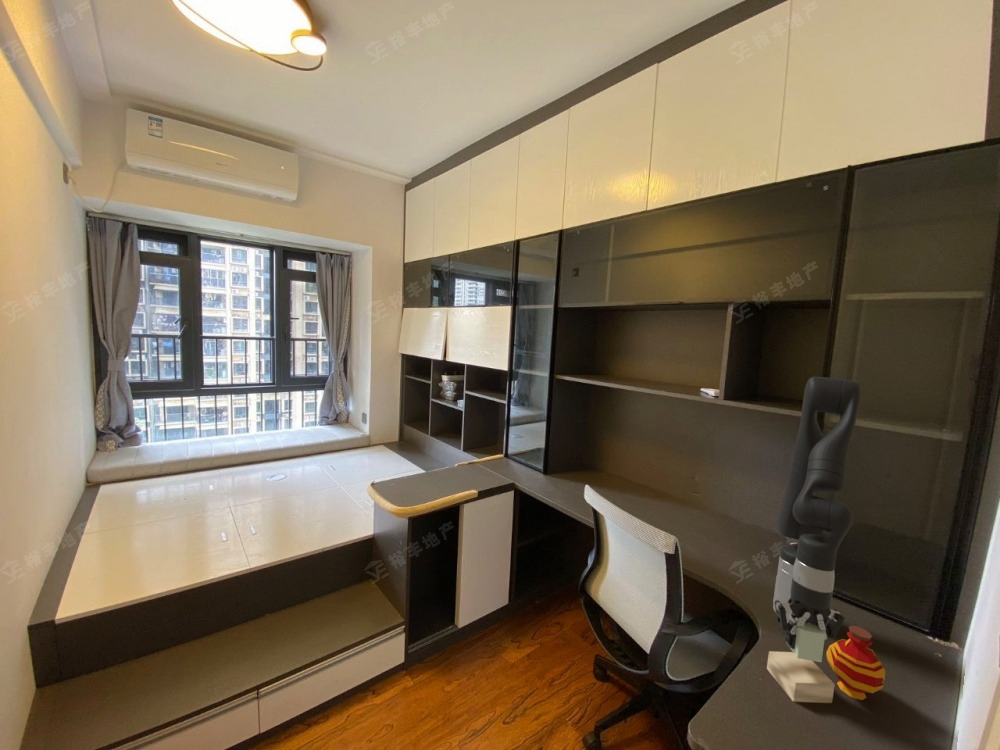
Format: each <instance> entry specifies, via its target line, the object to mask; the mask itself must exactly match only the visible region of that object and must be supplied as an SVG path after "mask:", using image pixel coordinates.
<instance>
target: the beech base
mask: <svg viewBox="0 0 1000 750" xmlns="http://www.w3.org/2000/svg"><path fill="white" fill-rule="evenodd" d="M766 664H767V665H766V669H767V670H768V672H769V673H770V675H771V676H772V677H773V678H774V679H775V681H776V682H777V683H778V684H779V686H780V687H781V688H782V689H783V691H784V692H785V693H786V695H788V697H789V698H790V700H791V701H792V702H796V703H818V704H819V703H820V704H821V703H823V704H832V703H833V699H834V691H835V685H836V684H835V683H834V681H832V680H831V679H830V678H829V677H828V675H826V674H825V673H824V672H823V670H822V669H821V668H820V667H819V666H818V665H817V664H816V663H815V661H811V660H805V659H799V658H797V657H796V656H795V654H794V653H793V651H773V650H771V651H768V656H767V663H766Z"/></svg>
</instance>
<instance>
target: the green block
mask: <svg viewBox="0 0 1000 750" xmlns="http://www.w3.org/2000/svg"><path fill="white" fill-rule="evenodd" d="M796 619H797V618H796ZM797 620H798V619H797ZM824 641H825V642H826V640H825V633H824V632H823V631H820V630H819V629H818V628H817V626H816V625H813V624H810V623H807V624H805V623H804V625H803V626H802V628H800V627H798V629H797V632H796V642H795V649H792V648H790V650H791V652H793V653H794V654H795V656H796V657H797V658H799V659H805V660H811V661H813V662H817V663H822V662H823V655H824V653H823V652H824V650H823V648H824V649H825V645H824ZM785 642H786V641H785ZM786 644H787V642H786ZM787 646H788V647H789V645H788V644H787Z"/></svg>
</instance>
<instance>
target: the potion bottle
mask: <svg viewBox="0 0 1000 750" xmlns="http://www.w3.org/2000/svg"><path fill="white" fill-rule="evenodd" d="M848 630H849V631H847V632H846V634H847V635H846V636H847V637H848V639H844V638H842V639H839V640H837V641H835V642H834V643H832V644H830V645H829V646H828V648H827V650H826V659H827V662H828V664H829V667H830V669H831V670H833V672H834V673H835V675H836V677H837V678H838V680H839V681H838V682H837V683H836V684H837V686H838V687H839V689H840V691H842V692H843V693H845V695H847V696H848V697H850V698H853V699H856V700H861V701H863V700H865V699H866V698H867V696H866V694H867V693H870V694H874V693H876V692H878V691H880V690H882V689H883V687H884V686H885V683H884V682H885V681H886V670H885V668H884V666H883V665H882V663H881V661H880V659H879V658H878V656H877V655H876V654H875V652H874V651H873V649H871V648H869V647H871V646H872V645H873V642H872V640H871V639H872V638H873V635H872V634H871V632H869V631H868V630H866V629H864V628H862V627H860V626H857V625H856V626H855V625H850V626H848Z"/></svg>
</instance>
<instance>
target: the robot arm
mask: <svg viewBox="0 0 1000 750" xmlns="http://www.w3.org/2000/svg"><path fill="white" fill-rule="evenodd" d="M861 396H862V389H861V385H860V383H859V382H858V381H856V380H850V379H843V378H834V377H826V376H824V377H823V376H812V377H810V378H809V379H808V380H807V382H806V385H805V387H804V394H803V398H802V407H801V414H800V421H799V423H800V424H799V426H798V427H799V428H798V433H797V438H796V441H795V445H794V448H793V449H794V450H793V452H792V458H791V461H790V462H791V463H790V468H789V474H788V481H787V484H786V485H787V486H786V490H785V492H784V496H783V500H782V503H781V506H780V509H779V513H778V516H777V530H778V532H779V533H780V535H782V536H783V537H786V538H789V539H794V540H797V541H798V543H789V544H783V545H782V546H781V547H780V551H779V557H778V558H779V559H778V565H777V566H778V567H777V573H776V574H777V575H776V576H775V577H776V578H775V585H774V590H773V591H774V594H773V599H772V603H773V606H772V607H773V608H772V609H773V611H774V612H775V614H776V621H777V624H778V625H779V626H780V628H781V629H782V630H783V631H785V635H784V641H785V642H787V643H786V645H787V646H788V645H789V646H788V647H789V649H791V648H792V649H795V642H796V632H797V629H798V627H800V628H802V626H803V625H804V623H805V624H807V623H810V624H813V625H816V626H817V628H818V629H819V630H820V631H823V632H824V633H825V641H824V646H825V645H826V640H828V638H831V639H836V638H837V636H838V634H839V632H840V630H841V627H842V626H843V623H844V622H845V621H844V620H845V617H844V616H843V614H842V613H840V612H839V611H838V609H836V608H833V609H831V607H832V600H833V594H834V588H835V587H834V586H835V579H836V578H835V568H836V562H837V555H838V550H839V547H840V545H841V543H842V541H843V539H844V538H845V536H846V534H847V533H848V531H849V530H850V527H851V526H852V524H853V519H854V515H853V513H852V510H851V508H850V507H849V506H848V505H847V504H845V503H843V502H840V501H836V500H831V499H827V498H823V497H820V496H815V495H817V494H819V493H829V494H830V493H831V494H832V493H834V494H835V493H841V492H842V491H843V490H844V487H845V481H846V469H847V461H848V460H847V459H848V453H849V448H850V446H851V442H852V439H853V436H854V435H853V434H854V430H855V426H856V422H857V418H858V414H859V409H860V404H861V398H862V397H861ZM817 413H824V414H831V415H838V416H840V417H839V420H838V422H837V424H836V425H835V427H833V429H832V430H831V431H829V433H828V434H826V435H824V433H823V432H822V430H821V427H820V425H819V422H818V418H817ZM796 618H797V619H798V620H797V619H796ZM827 618H828V619H827ZM826 619H827V621H826V623H825V622H824V621H825V620H826ZM824 650H825V647H824V648H823V651H824Z"/></svg>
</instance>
